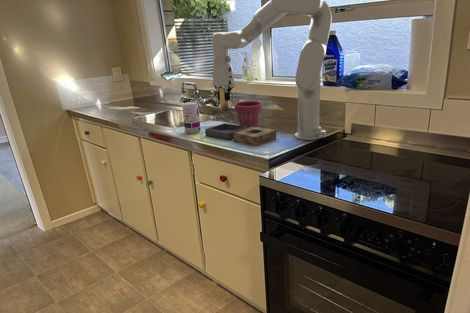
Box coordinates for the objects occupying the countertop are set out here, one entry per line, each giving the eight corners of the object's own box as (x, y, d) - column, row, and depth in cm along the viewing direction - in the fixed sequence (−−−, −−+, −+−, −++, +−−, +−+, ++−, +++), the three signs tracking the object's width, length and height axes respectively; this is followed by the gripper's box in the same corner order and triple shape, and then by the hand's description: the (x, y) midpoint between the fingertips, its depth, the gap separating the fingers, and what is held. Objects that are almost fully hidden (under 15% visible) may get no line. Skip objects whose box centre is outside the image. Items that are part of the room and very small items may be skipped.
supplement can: (201, 129, 186) (198, 101, 181) (200, 133, 178) (197, 104, 173) (186, 130, 186) (183, 102, 181) (184, 134, 178) (181, 105, 173)
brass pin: (230, 110, 169) (229, 87, 165) (224, 111, 166) (223, 88, 162) (224, 109, 171) (223, 87, 168) (218, 111, 169) (217, 88, 165)
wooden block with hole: (276, 138, 161) (276, 129, 159) (257, 145, 151) (256, 137, 150) (253, 134, 170) (252, 126, 169) (233, 141, 160) (233, 132, 159)
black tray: (248, 133, 172) (248, 126, 171) (228, 140, 162) (228, 133, 161) (225, 129, 182) (224, 123, 181) (205, 135, 173) (205, 128, 172)
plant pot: (263, 129, 177) (262, 104, 173) (236, 131, 177) (234, 106, 173) (261, 123, 191) (260, 100, 187) (235, 125, 191) (234, 101, 187)
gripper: (240, 60, 158) (242, 100, 164) (215, 60, 169) (217, 97, 175) (229, 61, 153) (231, 102, 159) (203, 61, 164) (206, 100, 170)
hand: (224, 99), depth 167 cm, fingers closed on brass pin, 4 cm apart
